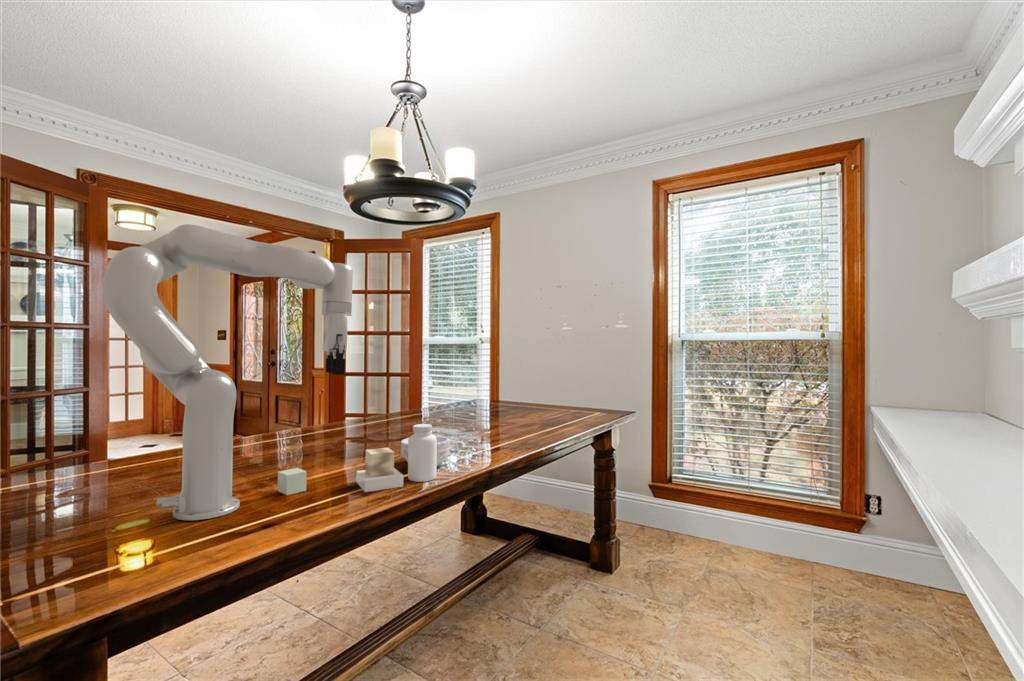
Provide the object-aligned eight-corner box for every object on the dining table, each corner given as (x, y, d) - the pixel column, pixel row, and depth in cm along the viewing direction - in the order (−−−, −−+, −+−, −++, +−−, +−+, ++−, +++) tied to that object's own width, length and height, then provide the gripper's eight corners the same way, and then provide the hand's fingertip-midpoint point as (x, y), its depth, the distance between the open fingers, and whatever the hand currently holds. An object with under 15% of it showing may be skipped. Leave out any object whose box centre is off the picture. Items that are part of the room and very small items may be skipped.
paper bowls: (407, 458, 157) (407, 434, 157) (453, 459, 156) (453, 435, 156) (394, 470, 142) (394, 443, 142) (444, 471, 141) (445, 445, 141)
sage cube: (286, 495, 118) (287, 475, 118) (277, 491, 121) (277, 471, 121) (306, 490, 122) (306, 471, 122) (296, 486, 125) (297, 467, 125)
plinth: (365, 492, 121) (365, 480, 121) (356, 481, 129) (356, 470, 129) (403, 486, 126) (403, 475, 126) (392, 477, 135) (392, 466, 135)
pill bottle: (401, 479, 132) (402, 426, 132) (420, 473, 139) (420, 421, 139) (424, 484, 128) (425, 428, 128) (442, 476, 135) (442, 424, 136)
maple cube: (371, 477, 124) (371, 454, 124) (365, 471, 129) (365, 449, 129) (393, 474, 127) (394, 451, 127) (387, 469, 132) (387, 447, 132)
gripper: (317, 310, 133) (315, 371, 133) (327, 306, 118) (325, 375, 118) (345, 312, 137) (343, 371, 137) (358, 308, 122) (356, 375, 122)
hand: (334, 373), depth 127 cm, fingers open, 9 cm apart
